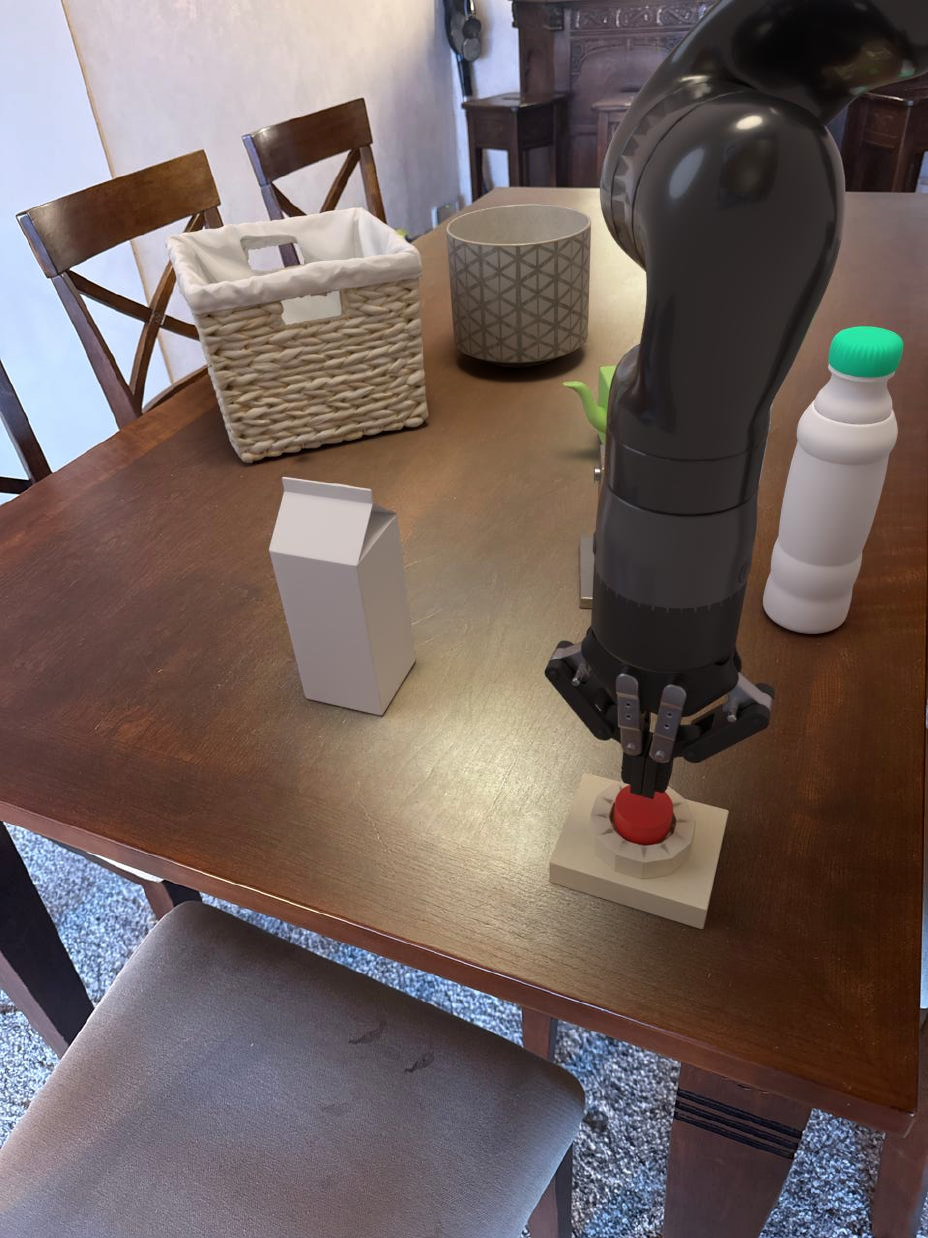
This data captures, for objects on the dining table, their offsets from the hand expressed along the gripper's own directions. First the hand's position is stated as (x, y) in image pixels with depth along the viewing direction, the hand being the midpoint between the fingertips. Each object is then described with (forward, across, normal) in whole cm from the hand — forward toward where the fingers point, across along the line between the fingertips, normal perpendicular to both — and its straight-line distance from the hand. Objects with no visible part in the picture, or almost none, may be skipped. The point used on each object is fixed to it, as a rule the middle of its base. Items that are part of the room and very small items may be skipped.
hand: (644, 785), depth 53 cm
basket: (+8, +57, -55) cm, 80 cm away
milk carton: (+7, +26, -9) cm, 28 cm away
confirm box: (+7, 0, 0) cm, 7 cm away
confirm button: (+3, 0, 0) cm, 3 cm away
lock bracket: (+7, +9, -30) cm, 32 cm away
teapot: (+7, +12, -55) cm, 57 cm away
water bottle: (+7, -8, -30) cm, 32 cm away
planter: (+7, +36, -78) cm, 86 cm away
